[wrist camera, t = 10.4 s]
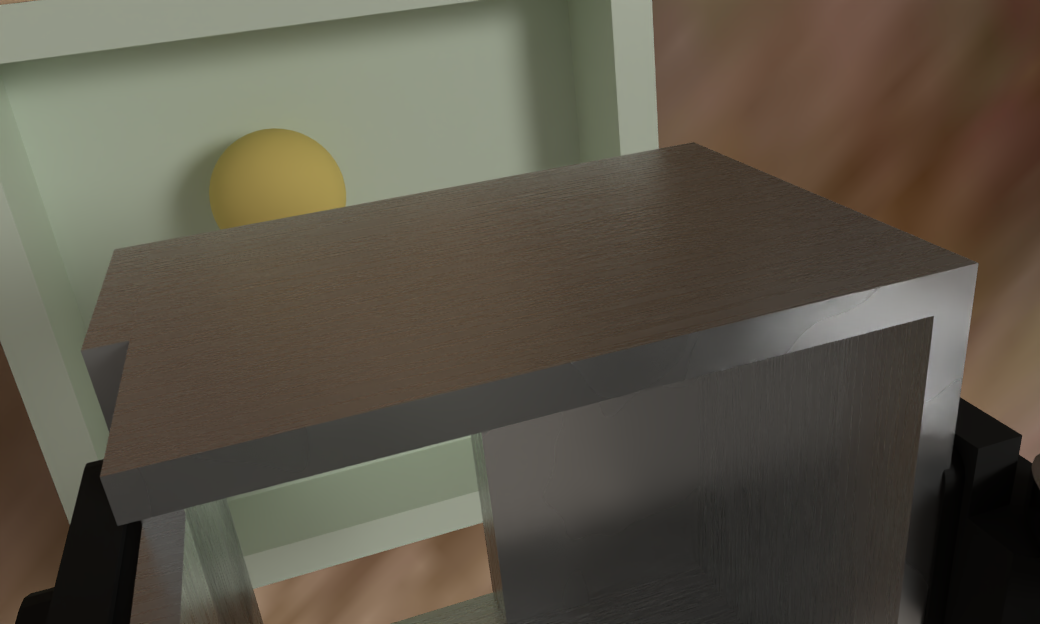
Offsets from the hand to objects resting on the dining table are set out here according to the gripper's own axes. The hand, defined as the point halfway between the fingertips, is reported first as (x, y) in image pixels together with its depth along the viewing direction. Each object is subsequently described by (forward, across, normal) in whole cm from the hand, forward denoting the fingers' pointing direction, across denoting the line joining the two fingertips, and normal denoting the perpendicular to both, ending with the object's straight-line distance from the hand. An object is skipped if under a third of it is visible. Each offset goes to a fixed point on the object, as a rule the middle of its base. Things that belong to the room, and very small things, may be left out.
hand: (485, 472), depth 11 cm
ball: (+11, +3, 0) cm, 11 cm away
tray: (+13, 0, +1) cm, 13 cm away
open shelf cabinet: (+1, 0, 0) cm, 1 cm away
